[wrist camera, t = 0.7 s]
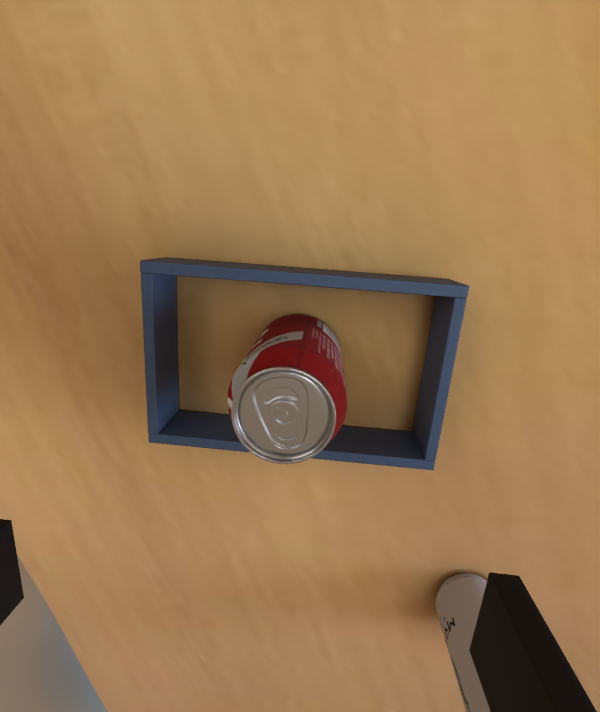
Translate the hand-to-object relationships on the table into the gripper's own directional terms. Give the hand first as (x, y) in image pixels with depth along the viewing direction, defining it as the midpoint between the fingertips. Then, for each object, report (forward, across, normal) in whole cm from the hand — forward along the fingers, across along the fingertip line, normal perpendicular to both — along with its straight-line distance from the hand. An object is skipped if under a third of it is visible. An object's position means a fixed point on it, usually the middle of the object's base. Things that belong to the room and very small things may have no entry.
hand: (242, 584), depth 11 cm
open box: (+22, 0, 0) cm, 22 cm away
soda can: (+22, 0, 0) cm, 22 cm away
